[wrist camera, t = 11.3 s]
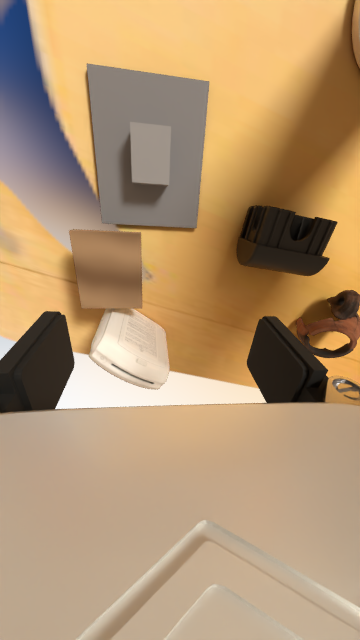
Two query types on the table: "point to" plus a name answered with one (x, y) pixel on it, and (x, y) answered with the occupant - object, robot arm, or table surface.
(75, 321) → the table surface
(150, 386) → the photo printer
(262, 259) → the end cap
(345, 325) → the brown piece
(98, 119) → the rubber mat
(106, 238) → the walnut board
